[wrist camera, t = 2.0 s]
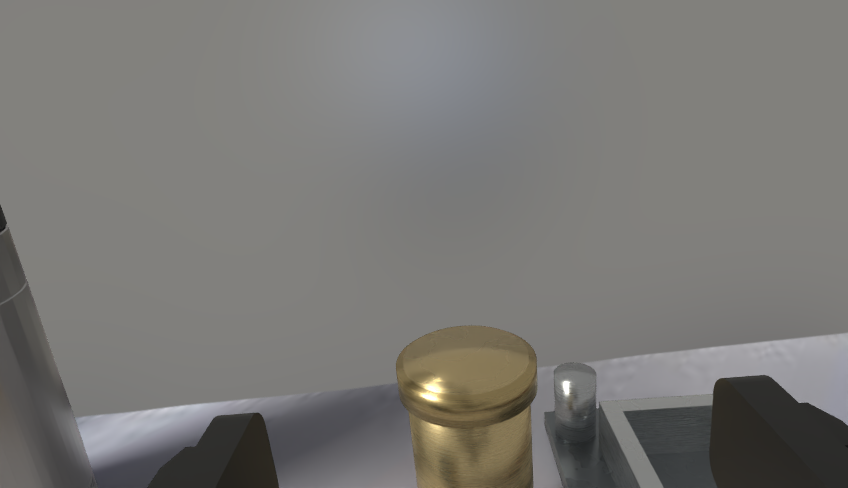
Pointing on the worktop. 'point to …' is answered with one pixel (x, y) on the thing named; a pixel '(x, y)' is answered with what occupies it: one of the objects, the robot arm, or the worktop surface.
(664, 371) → the worktop surface
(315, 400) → the worktop surface
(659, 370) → the worktop surface
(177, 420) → the worktop surface
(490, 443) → the gold metal cylinder
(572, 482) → the socket plate
